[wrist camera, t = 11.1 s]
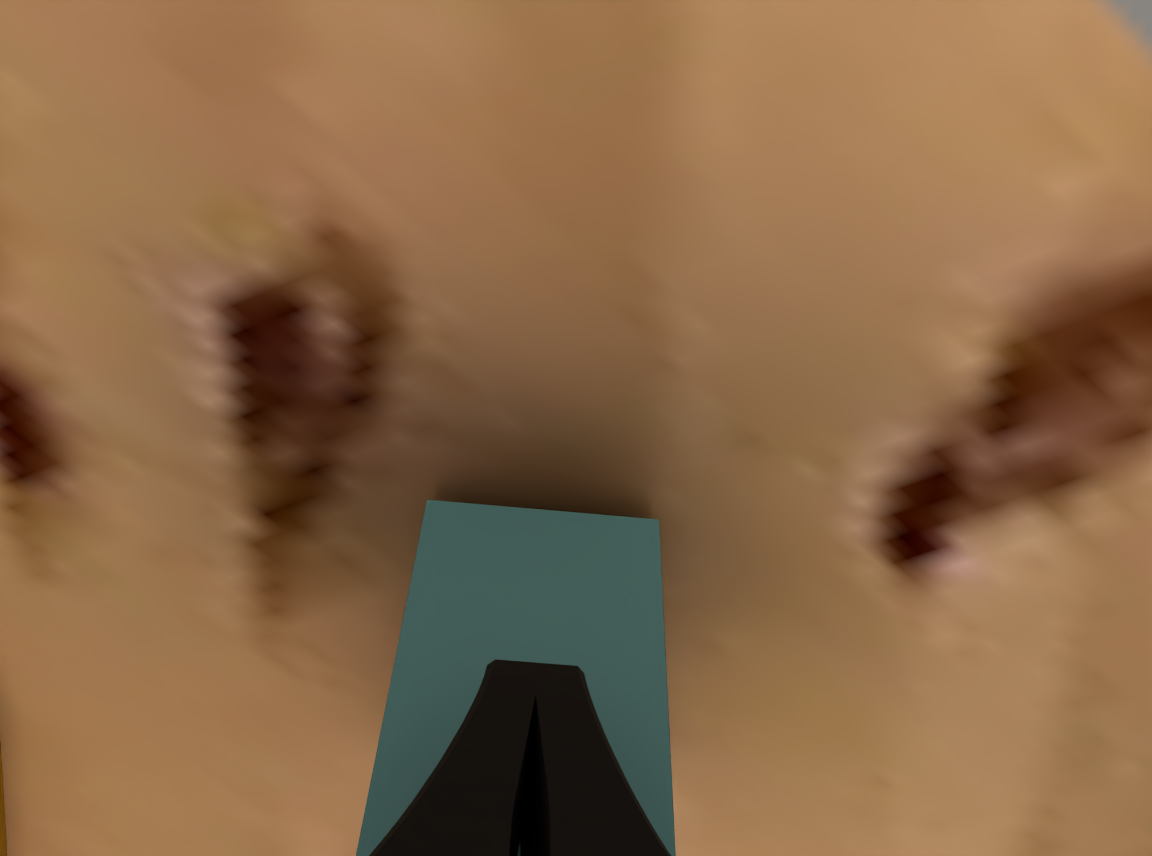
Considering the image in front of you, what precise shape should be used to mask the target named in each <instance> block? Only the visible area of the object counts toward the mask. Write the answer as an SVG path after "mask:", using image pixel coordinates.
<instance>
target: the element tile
mask: <svg viewBox="0 0 1152 856" xmlns="http://www.w3.org/2000/svg"><path fill="white" fill-rule="evenodd" d="M0 856H7V848H6V831H5V813H4V796H3V778H2V761H1V744H0Z"/></svg>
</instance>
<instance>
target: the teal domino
mask: <svg viewBox="0 0 1152 856" xmlns="http://www.w3.org/2000/svg"><path fill="white" fill-rule="evenodd" d="M495 659H498V660H511V661H523V662H536V663H548V664H561V665H574V666H578V667H579V668H580V669H581V670H582V671H583V672H584V674H585V679H586V683H587V686H588V690H589V693H590V696H591V699H592V702H593V705H594V707H595V710H596V713H597V715H598V718H599V720H600V723H601V725H602V728H603V730H604V733H605V735H606V737H607V739H608V742H609V744H610V746H611V748H612V750H613V752H614V754H615V757H616V759H617V761H618V763H619V765H620V767H621V769H622V771H623V773H624V775H625V777H626V779H627V781H628V783H629V785H630V787H631V789H632V791H633V793H634V794H635V796H636V798H637V800H638V802H639V803H640V805H641V807H642V809H643V810H644V812H645V814H646V816H647V818H648V819H649V821H650V823H651V824H652V826H653V828H654V829H655V831H656V833H657V834H658V836H659V838H660V839H661V841H662V842H663V844H664V846H665V847H666V849H667V850H668V852H669V853H670V855H671V856H676V855H675V834H674V814H673V793H672V773H671V753H670V732H669V712H668V691H667V671H666V651H665V630H664V610H663V589H662V569H661V549H660V528H659V519H647V518H635V517H624V516H612V515H600V514H589V513H577V512H565V511H554V510H542V509H530V508H518V507H507V506H495V505H483V504H472V503H460V502H448V501H437V500H427V502H426V507H425V512H424V517H423V522H422V527H421V532H420V537H419V542H418V547H417V552H416V557H415V562H414V567H413V572H412V577H411V582H410V587H409V592H408V597H407V602H406V607H405V613H404V618H403V623H402V628H401V633H400V638H399V643H398V648H397V653H396V658H395V663H394V668H393V673H392V678H391V683H390V688H389V693H388V698H387V703H386V708H385V713H384V718H383V723H382V728H381V733H380V738H379V743H378V748H377V753H376V758H375V763H374V768H373V773H372V778H371V783H370V788H369V793H368V798H367V803H366V808H365V813H364V818H363V823H362V828H361V833H360V838H359V843H358V848H357V853H356V856H369V855H370V854H371V853H372V851H373V850H374V849H375V848H376V847H377V845H378V844H379V843H380V842H381V841H382V839H383V838H384V837H385V836H386V835H387V833H388V832H389V831H390V830H391V828H392V827H393V826H394V825H395V823H396V822H397V821H398V820H399V818H400V817H401V816H402V814H403V813H404V812H405V810H406V809H407V808H408V806H409V805H410V804H411V802H412V801H413V799H414V798H415V797H416V795H417V794H418V792H419V791H420V789H421V788H422V786H423V785H424V783H425V782H426V780H427V779H428V778H429V776H430V775H431V773H432V772H433V770H434V769H435V767H436V766H437V764H438V763H439V761H440V760H441V758H442V757H443V755H444V753H445V752H446V750H447V748H448V746H449V745H450V743H451V741H452V740H453V738H454V736H455V734H456V733H457V731H458V729H459V728H460V726H461V724H462V722H463V721H464V719H465V717H466V715H467V713H468V711H469V709H470V707H471V705H472V703H473V701H474V699H475V697H476V695H477V692H478V690H479V688H480V685H481V682H482V680H483V677H484V674H485V671H486V667H487V665H488V664H489V663H491V662H492V661H494V660H495ZM517 856H521V853H520V843H519V849H518V855H517Z"/></svg>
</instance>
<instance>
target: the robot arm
mask: <svg viewBox="0 0 1152 856" xmlns="http://www.w3.org/2000/svg"><path fill="white" fill-rule="evenodd" d="M519 843H520V853H521V856H671V855H670V853H669V852H668V850H667V849H666V847H665V846H664V844H663V842H662V841H661V839H660V838H659V836H658V834H657V833H656V831H655V829H654V828H653V826H652V824H651V823H650V821H649V819H648V818H647V816H646V814H645V812H644V810H643V809H642V807H641V805H640V803H639V802H638V800H637V798H636V796H635V794H634V793H633V791H632V789H631V787H630V785H629V783H628V781H627V779H626V777H625V775H624V773H623V771H622V769H621V767H620V765H619V763H618V761H617V759H616V757H615V754H614V752H613V750H612V748H611V746H610V744H609V742H608V739H607V737H606V735H605V733H604V730H603V728H602V725H601V723H600V720H599V718H598V715H597V713H596V710H595V707H594V705H593V702H592V699H591V696H590V693H589V690H588V686H587V683H586V679H585V674H584V672H583V671H582V670H581V669H580V668H579V667H578V666H574V665H561V664H548V663H536V662H523V661H511V660H498V659H495V660H494V661H492V662H491V663H489V664H488V665H487V667H486V671H485V674H484V677H483V680H482V682H481V685H480V688H479V690H478V692H477V695H476V697H475V699H474V701H473V703H472V705H471V707H470V709H469V711H468V713H467V715H466V717H465V719H464V721H463V722H462V724H461V726H460V728H459V729H458V731H457V733H456V734H455V736H454V738H453V740H452V741H451V743H450V745H449V746H448V748H447V750H446V752H445V753H444V755H443V757H442V758H441V760H440V761H439V763H438V764H437V766H436V767H435V769H434V770H433V772H432V773H431V775H430V776H429V778H428V779H427V780H426V782H425V783H424V785H423V786H422V788H421V789H420V791H419V792H418V794H417V795H416V797H415V798H414V799H413V801H412V802H411V804H410V805H409V806H408V808H407V809H406V810H405V812H404V813H403V814H402V816H401V817H400V818H399V820H398V821H397V822H396V823H395V825H394V826H393V827H392V828H391V830H390V831H389V832H388V833H387V835H386V836H385V837H384V838H383V839H382V841H381V842H380V843H379V844H378V845H377V847H376V848H375V849H374V850H373V851H372V853H371V854H370V855H369V856H517V855H518V849H519Z"/></svg>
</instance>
